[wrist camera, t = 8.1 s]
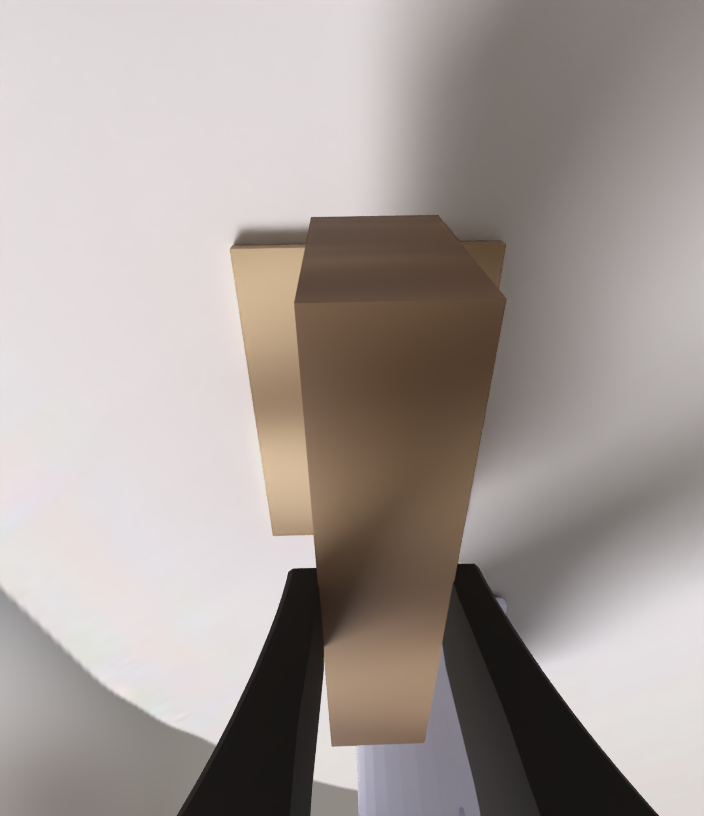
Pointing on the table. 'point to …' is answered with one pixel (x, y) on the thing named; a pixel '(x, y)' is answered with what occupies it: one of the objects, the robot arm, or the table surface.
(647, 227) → the table surface
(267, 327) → the mat
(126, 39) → the table surface
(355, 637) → the brown wooden block
